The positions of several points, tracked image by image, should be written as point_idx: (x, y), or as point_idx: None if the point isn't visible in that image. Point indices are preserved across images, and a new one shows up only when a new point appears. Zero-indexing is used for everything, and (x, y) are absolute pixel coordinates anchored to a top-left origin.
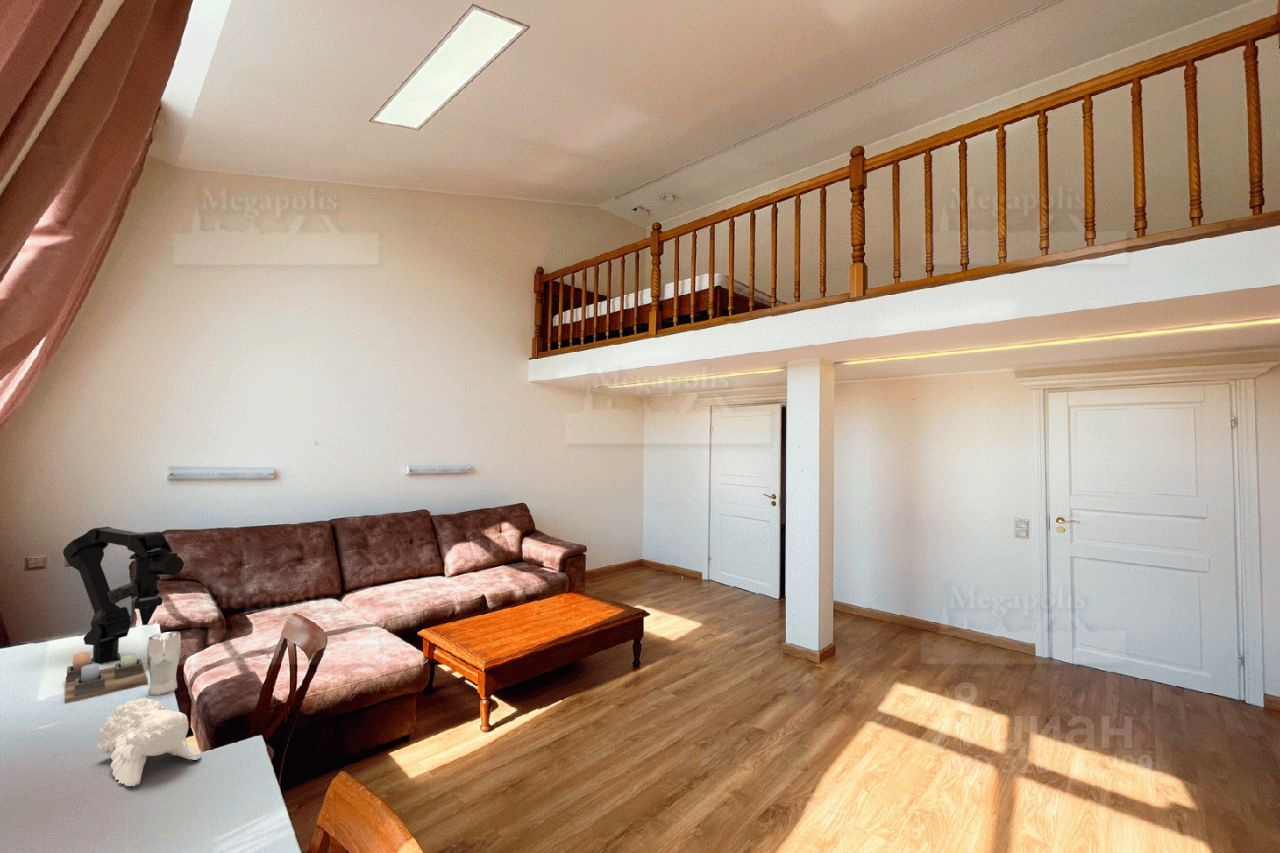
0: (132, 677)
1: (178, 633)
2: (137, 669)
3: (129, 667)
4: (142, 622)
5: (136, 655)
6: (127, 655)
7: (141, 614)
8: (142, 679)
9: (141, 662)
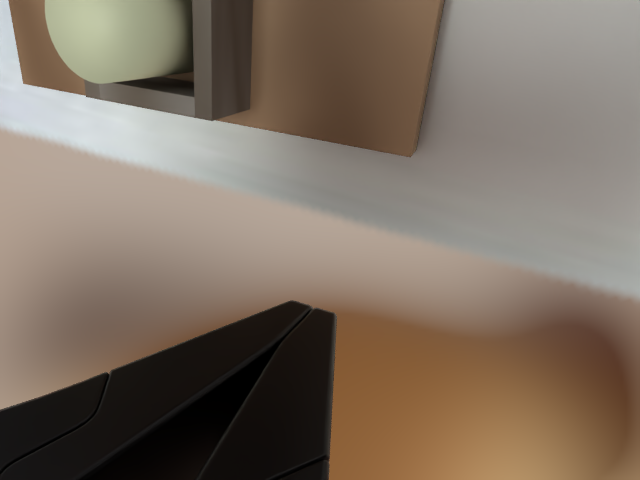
0: None
1: None
2: None
3: None
4: (257, 319)
5: (81, 74)
6: (105, 16)
7: (65, 400)
8: (42, 65)
9: (117, 98)
